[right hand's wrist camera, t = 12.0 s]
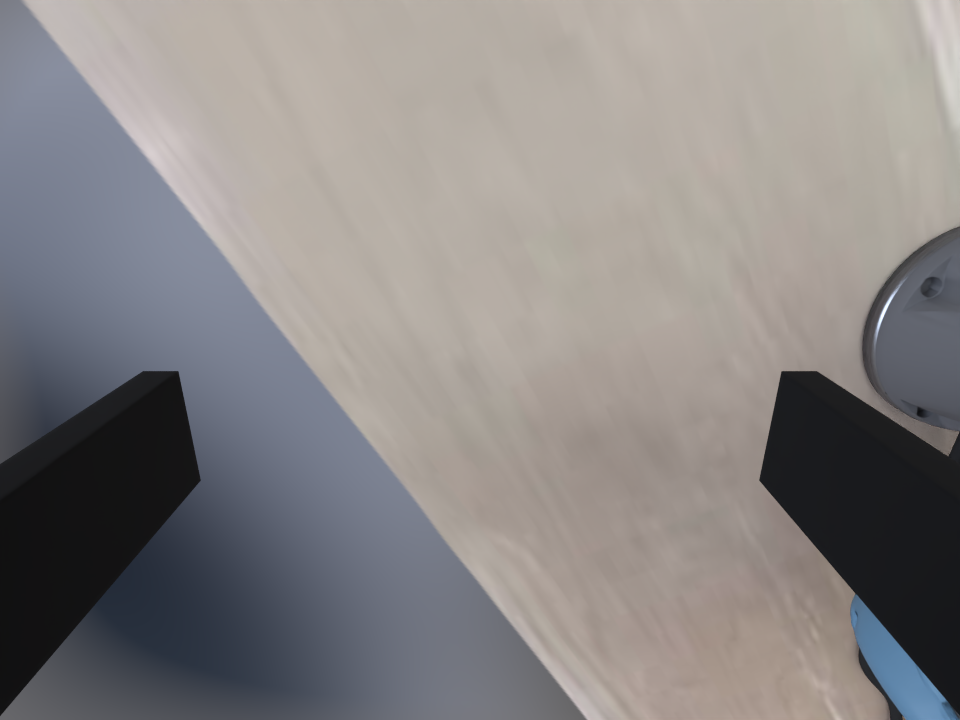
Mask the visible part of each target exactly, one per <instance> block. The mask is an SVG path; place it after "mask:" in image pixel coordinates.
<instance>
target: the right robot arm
mask: <svg viewBox="0 0 960 720" xmlns="http://www.w3.org/2000/svg"><path fill="white" fill-rule="evenodd" d="M863 360H864V365H865V369H866V372H867V375H868V377H869V379H870V382H871V383H872V385H873V387H874V388H875V390H876V391H877V392H878V393H879V395H880V396H881V397H882V398H883V399H884V400H886V401H887V402H888V403H889V404H891V405H892V406H894V407H895V408H897V409H899V410H900V411H902V412H903V413H905V414H907V415H909V416H910V417H912V418H914V419H917V420H919V421H922V422H925V423H927V424H930V425H933V426H936V427H941V428H945V429H950V430H955V431H960V227H957V228H955V229H952V230H950V231H948V232H946V233H944V234H942V235H940V236H938V237H937V238H935V239H933V240H931V241H930V242H928V243H927V244H925V245H924V246H922V247H921V248H920V249H918V250H917V251H916V252H915V253H913V254H912V255H911V256H910V257H909V258H908V259H907V260H905V261H904V262H903V263H902V264H901V265H900V266H899V268H898V269H897V270H896V271H895V272H894V273H893V274H892V276H891V277H890V278H889V279H888V280H887V282H886V283H885V285H884V286H883V288H882V289H881V291H880V292H879V294H878V296H877V298H876V299H875V302H874V304H873V306H872V308H871V310H870V313H869V316H868V319H867V322H866V326H865V330H864V336H863ZM759 481H760V482H761V483H762V484H763V485H764V486H765V488H766V489H767V490H768V491H769V492H770V494H771V495H772V496H773V497H774V498H775V499H776V501H777V502H778V503H779V504H780V505H781V506H782V508H783V509H784V510H785V511H786V512H787V513H788V515H789V516H790V517H791V518H792V519H793V521H794V522H795V523H796V524H797V525H798V526H799V528H800V529H801V530H802V531H803V532H804V533H805V535H806V536H807V537H808V538H809V539H810V540H811V542H812V543H813V544H814V545H815V546H816V548H817V549H818V550H819V551H820V552H821V553H822V555H823V556H824V557H825V558H826V559H827V560H828V562H829V563H830V564H831V565H832V566H833V568H834V569H835V570H836V571H837V572H838V573H839V575H840V576H841V577H842V578H843V579H844V580H845V582H846V583H847V584H848V585H849V586H850V587H851V589H852V590H853V591H854V592H855V593H856V594H855V596H854V598H853V600H852V604H851V610H850V615H851V623H852V627H853V629H854V632H855V636H856V641H857V643H858V645H859V647H860V648H859V663H860V665H861V668H862V670H863V671H864V673H865V675H866V676H867V677H868V679H869V680H870V681H871V682H872V683H873V685H874V686H875V687H876V688H877V689H878V690H879V691H880V692H881V693H882V694H883V695H884V697H885V698H886V700H887V702H888V704H889V709H890V720H902V715H903V716H904V718H905V719H906V720H960V432H959V434H958V437H957V439H956V441H955V443H954V446H953V448H952V450H951V452H950V454H949V457H948V456H946V455H945V454H943V453H942V452H940V451H939V450H937V449H936V448H934V447H933V446H931V445H929V444H928V443H926V442H925V441H923V440H922V439H920V438H919V437H917V436H916V435H914V434H913V433H911V432H909V431H908V430H906V429H905V428H903V427H902V426H900V425H899V424H897V423H896V422H894V421H893V420H891V419H889V418H888V417H886V416H885V415H883V414H882V413H880V412H879V411H877V410H876V409H874V408H873V407H871V406H869V405H868V404H866V403H865V402H863V401H862V400H860V399H859V398H857V397H856V396H854V395H853V394H851V393H849V392H848V391H846V390H845V389H843V388H842V387H840V386H839V385H837V384H836V383H834V382H833V381H831V380H829V379H828V378H826V377H825V376H823V375H822V374H820V373H819V372H817V371H782V372H781V377H780V382H779V387H778V392H777V397H776V401H775V406H774V411H773V416H772V421H771V426H770V431H769V436H768V440H767V445H766V450H765V455H764V460H763V465H762V470H761V475H760V479H759ZM199 482H200V475H199V470H198V465H197V460H196V455H195V450H194V445H193V440H192V436H191V431H190V426H189V421H188V416H187V411H186V406H185V402H184V397H183V392H182V387H181V382H180V377H179V372H178V371H143V372H141V373H140V374H138V375H137V376H135V377H134V378H132V379H131V380H129V381H128V382H126V383H124V384H123V385H121V386H120V387H118V388H117V389H115V390H114V391H112V392H111V393H109V394H107V395H106V396H104V397H103V398H101V399H100V400H98V401H97V402H95V403H94V404H92V405H91V406H89V407H87V408H86V409H84V410H83V411H81V412H80V413H78V414H77V415H75V416H74V417H72V418H71V419H69V420H67V421H66V422H64V423H63V424H61V425H60V426H58V427H57V428H55V429H54V430H52V431H51V432H49V433H47V434H46V435H44V436H43V437H41V438H40V439H38V440H37V441H35V442H34V443H32V444H31V445H29V446H27V447H26V448H25V449H23V450H21V451H20V452H18V453H17V454H15V455H14V456H12V457H11V458H9V459H7V460H6V461H4V462H3V463H1V464H0V716H1V714H2V713H3V712H4V711H5V710H6V708H7V707H8V706H9V705H10V704H11V703H12V701H13V700H14V699H15V698H16V697H17V696H18V694H19V693H20V692H21V691H22V690H23V688H24V687H25V686H26V685H27V684H28V683H29V681H30V680H31V679H32V678H33V677H34V676H35V674H36V673H37V672H38V671H39V670H40V669H41V667H42V666H43V665H44V664H45V663H46V661H47V660H48V659H49V658H50V657H51V656H52V654H53V653H54V652H55V651H56V650H57V649H58V647H59V646H60V645H61V644H62V643H63V641H64V640H65V639H66V638H67V637H68V636H69V634H70V633H71V632H72V631H73V630H74V629H75V627H76V626H77V625H78V624H79V623H80V622H81V620H82V619H83V618H84V617H85V616H86V614H87V613H88V612H89V611H90V610H91V609H92V607H93V606H94V605H95V604H96V603H97V602H98V600H99V599H100V598H101V597H102V596H103V594H104V593H105V592H106V591H107V590H108V589H109V587H110V586H111V585H112V584H113V583H114V582H115V580H116V579H117V578H118V577H119V576H120V575H121V573H122V572H123V571H124V570H125V569H126V567H127V566H128V565H129V564H130V563H131V562H132V560H133V559H134V558H135V557H136V556H137V555H138V553H139V552H140V551H141V550H142V549H143V548H144V546H145V545H146V544H147V543H148V542H149V540H150V539H151V538H152V537H153V536H154V535H155V533H156V532H157V531H158V530H159V529H160V528H161V526H162V525H163V524H164V523H165V522H166V521H167V519H168V518H169V517H170V516H171V515H172V513H173V512H174V511H175V510H176V509H177V507H178V506H179V505H180V504H181V503H182V502H183V501H184V499H185V498H186V497H187V496H188V495H189V494H190V492H191V491H192V490H193V489H194V488H195V486H196V485H197V484H198V483H199Z"/></svg>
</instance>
